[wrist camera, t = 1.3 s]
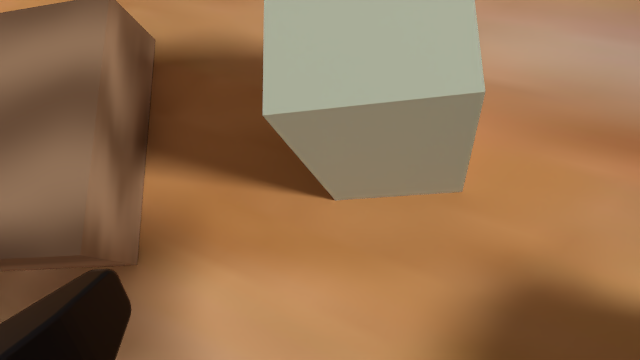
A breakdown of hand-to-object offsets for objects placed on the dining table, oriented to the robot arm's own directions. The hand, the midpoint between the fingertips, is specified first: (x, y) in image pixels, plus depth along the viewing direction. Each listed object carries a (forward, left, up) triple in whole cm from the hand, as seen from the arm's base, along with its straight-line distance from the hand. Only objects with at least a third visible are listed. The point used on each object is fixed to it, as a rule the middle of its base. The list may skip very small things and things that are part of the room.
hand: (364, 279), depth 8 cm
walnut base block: (-13, +15, -13) cm, 24 cm away
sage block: (+3, +6, -13) cm, 15 cm away
